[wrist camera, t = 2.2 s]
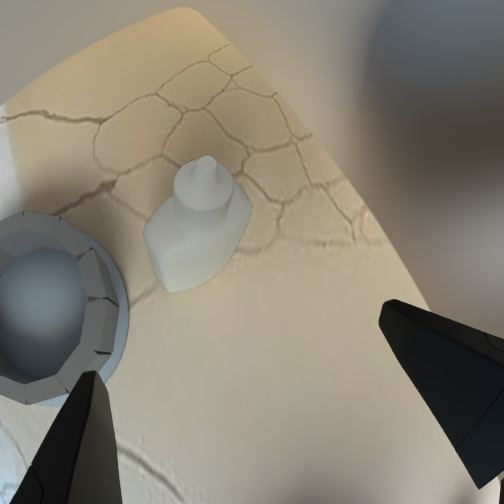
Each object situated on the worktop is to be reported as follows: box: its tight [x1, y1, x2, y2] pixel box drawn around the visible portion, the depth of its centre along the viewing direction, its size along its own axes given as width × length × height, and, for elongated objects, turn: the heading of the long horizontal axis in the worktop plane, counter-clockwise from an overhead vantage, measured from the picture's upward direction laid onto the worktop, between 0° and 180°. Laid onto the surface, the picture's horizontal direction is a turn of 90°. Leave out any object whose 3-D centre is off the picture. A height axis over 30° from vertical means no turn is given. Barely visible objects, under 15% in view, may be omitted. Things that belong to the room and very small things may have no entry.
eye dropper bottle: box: [143, 155, 253, 293], centre depth 16 cm, size 4×6×12 cm
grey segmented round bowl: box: [0, 211, 129, 406], centre depth 16 cm, size 13×13×4 cm
